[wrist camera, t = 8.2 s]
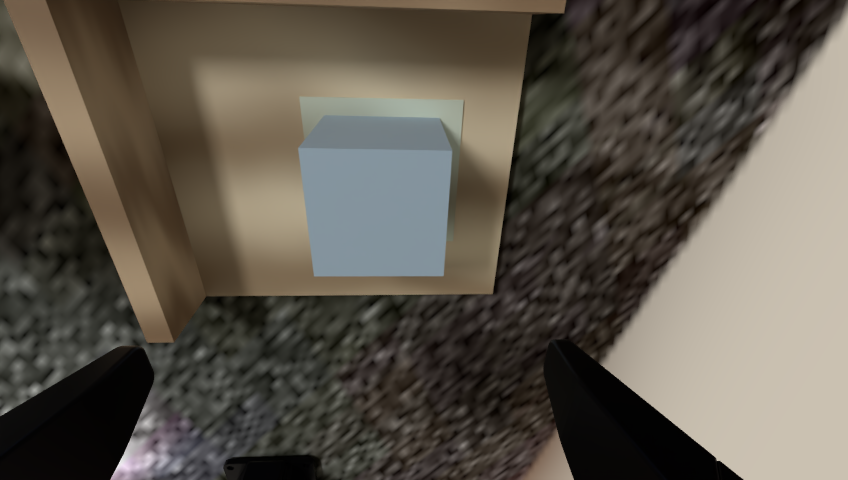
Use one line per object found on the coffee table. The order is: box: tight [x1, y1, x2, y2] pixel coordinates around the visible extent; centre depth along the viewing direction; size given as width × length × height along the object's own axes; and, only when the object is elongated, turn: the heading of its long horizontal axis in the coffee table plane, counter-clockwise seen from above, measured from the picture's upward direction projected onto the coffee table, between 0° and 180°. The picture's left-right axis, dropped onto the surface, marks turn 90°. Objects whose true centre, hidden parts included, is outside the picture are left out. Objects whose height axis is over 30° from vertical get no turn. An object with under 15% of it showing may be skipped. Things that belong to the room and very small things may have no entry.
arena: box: [4, 0, 566, 343], centre depth 17 cm, size 15×17×4 cm
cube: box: [298, 115, 452, 276], centre depth 16 cm, size 5×5×5 cm
